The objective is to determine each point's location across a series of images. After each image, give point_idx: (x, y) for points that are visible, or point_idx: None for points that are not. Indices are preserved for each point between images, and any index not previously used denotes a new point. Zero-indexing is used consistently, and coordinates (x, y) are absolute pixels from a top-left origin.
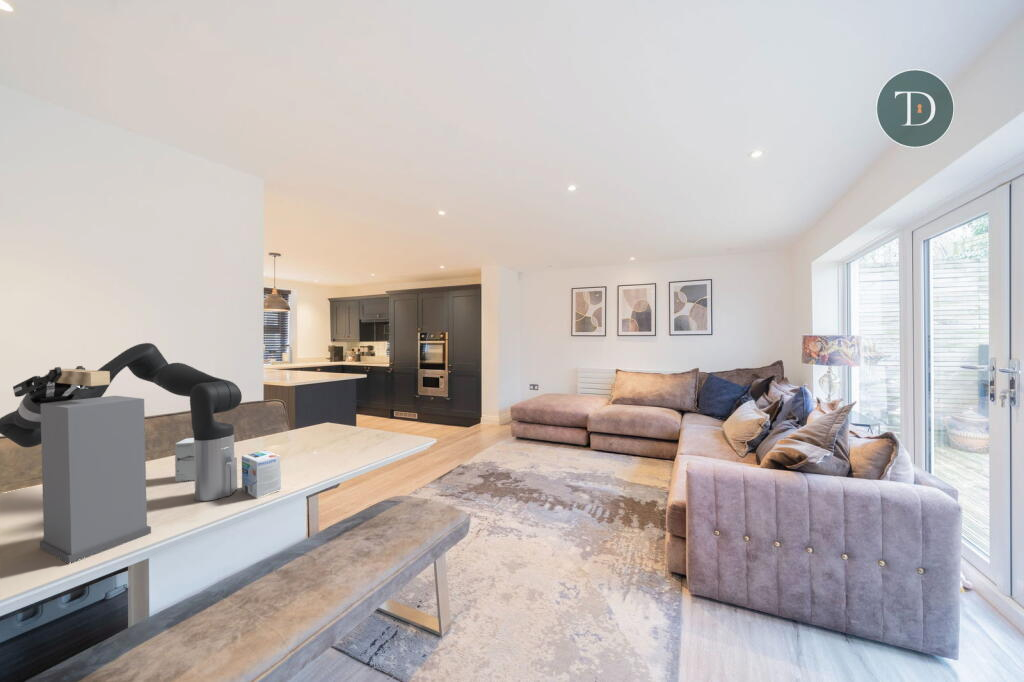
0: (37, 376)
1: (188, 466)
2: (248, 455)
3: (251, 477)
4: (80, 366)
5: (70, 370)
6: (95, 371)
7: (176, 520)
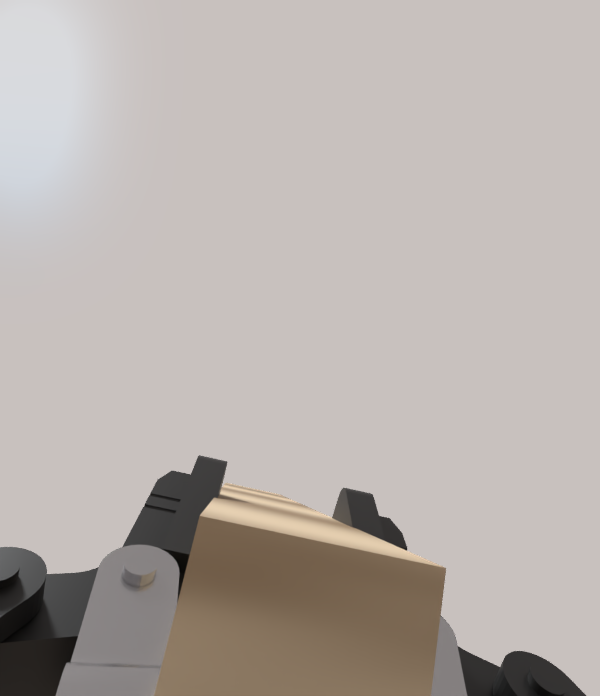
0: (517, 659)
1: None
2: None
3: None
4: (210, 463)
5: (292, 506)
6: (251, 489)
7: None
